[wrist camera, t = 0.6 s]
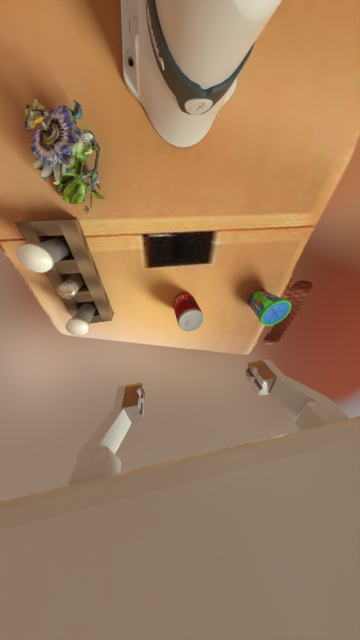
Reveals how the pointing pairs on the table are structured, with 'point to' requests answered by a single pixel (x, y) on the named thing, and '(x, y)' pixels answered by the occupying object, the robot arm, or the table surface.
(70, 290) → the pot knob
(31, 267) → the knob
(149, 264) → the table surface
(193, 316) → the canned food
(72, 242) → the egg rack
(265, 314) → the snack cup
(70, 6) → the table surface
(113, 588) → the robot arm
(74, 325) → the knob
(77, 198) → the passion flower
